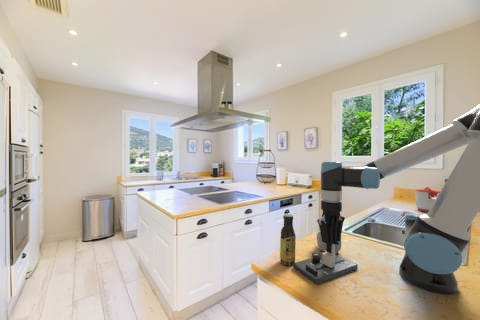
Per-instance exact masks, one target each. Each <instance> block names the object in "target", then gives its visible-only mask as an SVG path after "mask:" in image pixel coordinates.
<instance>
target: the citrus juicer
mask: <svg viewBox="0 0 480 320" xmlns="http://www.w3.org/2000/svg"><path fill="white" fill-rule="evenodd" d="M414 191H415V193H414V194H415V197H414V198H415V205H416V208H417V210H418V211H419V212H420V211H421V212H424V213H428V212H429V210H430V208H431V207H432V205H433V203H434V201H435V200H436V198H437V194H438V193H439V192H440V191H441V190H435V189H431V188H430V187H428V186H427V187H425V188H424V189H422V188H421V189H419V188H417V189H414Z"/></svg>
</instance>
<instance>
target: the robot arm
mask: <svg viewBox="0 0 480 320" xmlns="http://www.w3.org/2000/svg"><path fill="white" fill-rule="evenodd" d="M465 145H466V147H465V149H464V151H463V152H462V154H461V155H460V158H459V160H457V162H456V164H455V166H454V168H453V170H452V172H451V173H450V174H449V176H448V178H447V179H446V181H445V183H444V185H443V186H442V188H441V190H439V191H440V193H439V195H438V196H437V198H436V200H435V201H434V203H433V205H432V207H431V208H430V210H429V212H426V213H422V214H418V213H417V214H416V213H407V214H405V217H404V242H403V243H404V244H403V247H404V248H403V249H404V250H405V251H404V256H403V258H402V260H401V262H400V264H399V267H398V268H399V269H398V270H399V276H400V277H402V278H403V279H404V280H405V281H406V282H408V283H409V284H412V285H414V286H415V287H417V288H420V289H424V290H426V291H429V292H431V293H432V292H433V293H438V294H445V295H450V294H456V293H457V292H458V290H459V288H458V280H457V278H456V276H455V273H454V272H456V271H458V270H459V268H461V266H462V262H463V256H462V255H463V254H462V253H463V251H464V250H465V248H466V247H467V246H468V244H469V242H470V241H471V237H470V235H469V233H468V231H467V230H468V228H469V227H471V225H472V223H473V222H474V220H475V219H476V216H478V215H479V212H480V103H479V104H478V105H477V106H475V107H474V108H473V109H471V110H469V111H468V112H466V113H465V114H463V115H461V116H460V117H457V118H455V119H453V120H452V122H451V124H450V125H448V126H446V127H443V128H441V129H439V130H437V131H435V132H433V133H430V134H428V135H426V136H424V137H422V138H420V139H418V140H416V141H414V142H413V141H412V142H411V143H409V144H406V145H405V146H402V147H401V148H399V149H396V150H394V151H392V152H391V153H388V154H386V155H383V156H382V157H379V158H377V159H376V160H374V161H371V162H368V163H367V164H365V165H362V166H343V164H342V162H341V161H323V162H322V163H321V166H320V167H321V168H320V189H321V190H320V194H321V195H320V199H321V201H320V210H321V211H322V214H321V218H320V219H319V218H317V220H316V222H317V224H318V225H319V232H320V233H321V238H322V242H324V243H326V251H327V252H328V253H330V254H332V255H334V256H335V254H336V253H335V251H336V244H337V245H338V244H339V243H338V241H340V239H341V240H342V232H343V225H344V221H345V219H346V218H345V216H342V215H341V212H342V211H343V203H342V201H343V187H347V188H357V189H358V188H360V189H366V190H369V189H371V190H372V189H374V190H375V189H379V188H380V184H381V180H383V179H385V178H387V177H390V176H392V175H395V174H398V173H399V172H402V171H404V170H405V171H406V169H410V168H412V167H415V166H417V165H419V164H421V163H424V162H427V161H429V160H431V159H434V158H436V157H438V156H441V155H443V154H446V153H450V152H451V151H454V150H456V149H458V148H461V147H464V146H465ZM337 237H338V238H337Z"/></svg>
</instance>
